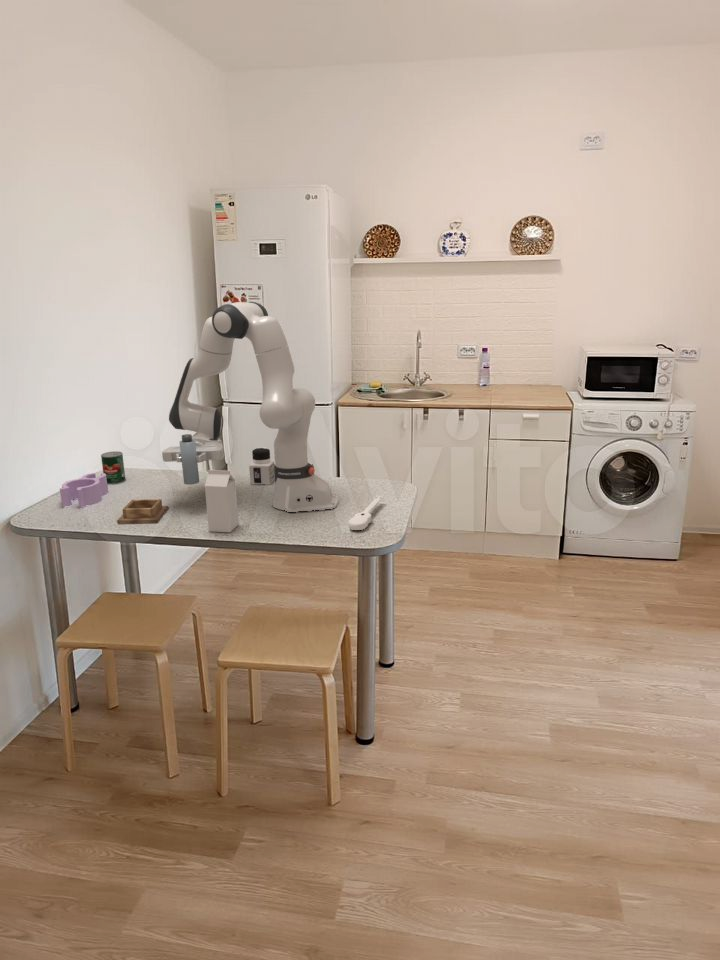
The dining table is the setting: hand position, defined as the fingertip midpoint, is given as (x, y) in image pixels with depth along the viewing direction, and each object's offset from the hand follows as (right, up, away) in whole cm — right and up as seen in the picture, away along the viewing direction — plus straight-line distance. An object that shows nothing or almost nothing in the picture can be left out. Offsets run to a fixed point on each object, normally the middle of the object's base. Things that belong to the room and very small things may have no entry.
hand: (188, 459), depth 233 cm
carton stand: (-16, -19, +4) cm, 25 cm away
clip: (-42, -14, +23) cm, 50 cm away
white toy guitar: (+59, -19, -2) cm, 62 cm away
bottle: (0, -7, +3) cm, 8 cm away
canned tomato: (-39, -7, +43) cm, 58 cm away
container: (+19, -8, +38) cm, 43 cm away
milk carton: (+13, -22, -9) cm, 27 cm away
